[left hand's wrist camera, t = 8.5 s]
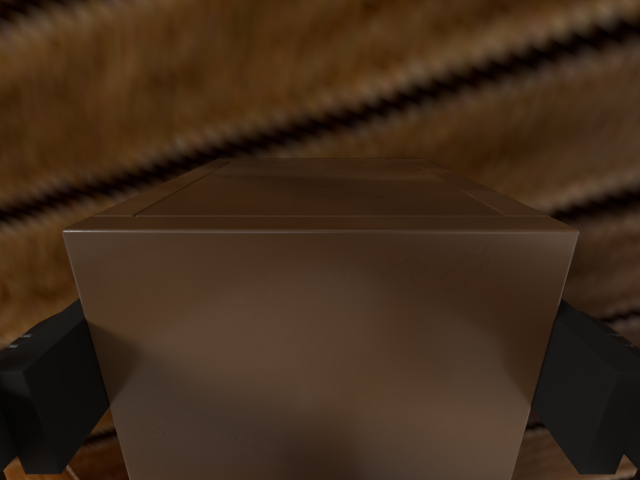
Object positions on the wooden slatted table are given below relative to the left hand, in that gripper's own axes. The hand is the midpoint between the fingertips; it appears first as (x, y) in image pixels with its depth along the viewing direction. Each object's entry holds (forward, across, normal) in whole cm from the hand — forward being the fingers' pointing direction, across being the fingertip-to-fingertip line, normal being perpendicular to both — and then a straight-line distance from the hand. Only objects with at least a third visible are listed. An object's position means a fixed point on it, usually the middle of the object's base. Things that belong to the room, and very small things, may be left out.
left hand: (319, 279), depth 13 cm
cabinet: (+7, 0, -5) cm, 9 cm away
